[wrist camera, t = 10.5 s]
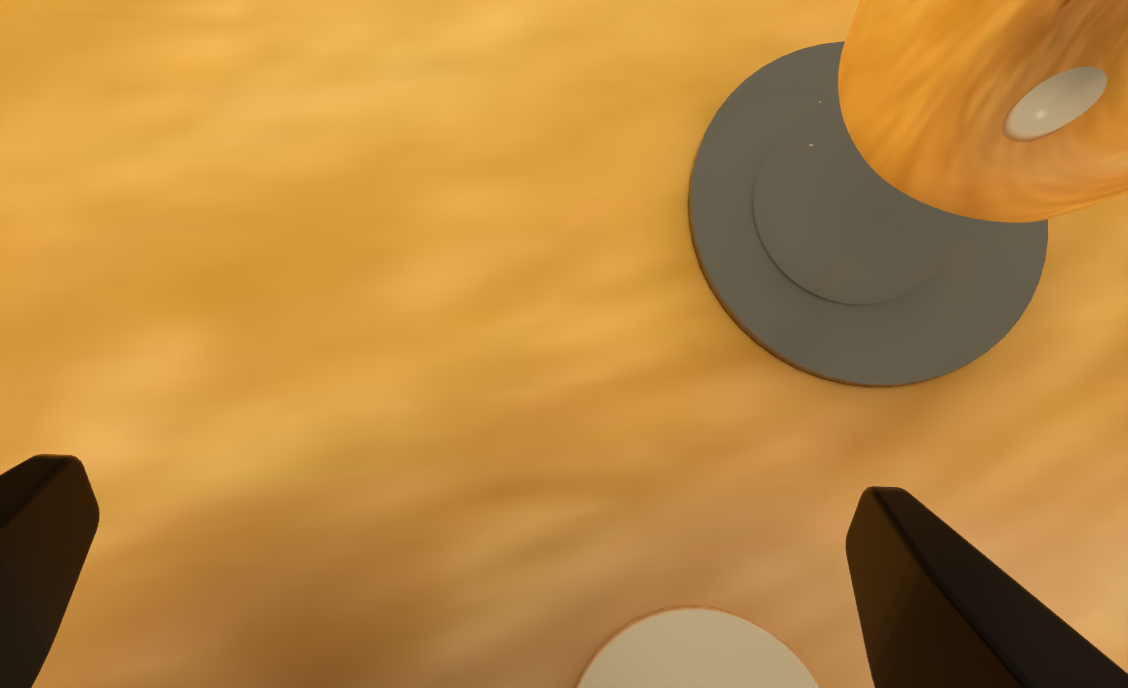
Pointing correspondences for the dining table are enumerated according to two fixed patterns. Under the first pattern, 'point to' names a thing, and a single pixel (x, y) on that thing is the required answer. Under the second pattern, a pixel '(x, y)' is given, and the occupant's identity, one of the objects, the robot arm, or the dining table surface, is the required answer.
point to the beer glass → (945, 139)
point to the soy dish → (694, 654)
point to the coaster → (816, 325)
